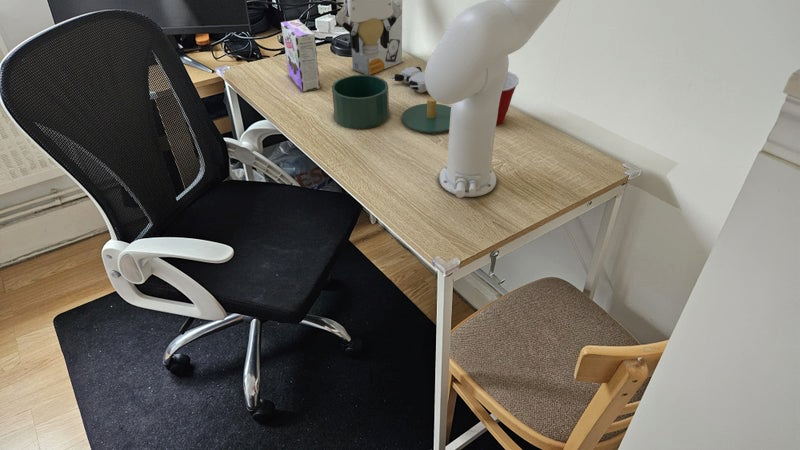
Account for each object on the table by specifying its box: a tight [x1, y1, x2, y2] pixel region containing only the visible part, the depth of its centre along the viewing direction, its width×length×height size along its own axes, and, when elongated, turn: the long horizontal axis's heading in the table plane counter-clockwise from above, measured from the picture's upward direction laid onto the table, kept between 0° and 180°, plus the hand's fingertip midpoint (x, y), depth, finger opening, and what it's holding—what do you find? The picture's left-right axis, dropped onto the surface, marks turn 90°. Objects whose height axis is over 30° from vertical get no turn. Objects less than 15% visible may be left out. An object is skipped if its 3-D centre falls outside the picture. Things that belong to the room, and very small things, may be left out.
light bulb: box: [357, 19, 384, 59], centre depth 117 cm, size 6×6×10 cm
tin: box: [331, 74, 390, 130], centre depth 137 cm, size 15×15×8 cm
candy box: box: [280, 18, 321, 92], centre depth 152 cm, size 14×6×16 cm, turn 27°
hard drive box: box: [351, 0, 403, 76], centre depth 160 cm, size 16×8×20 cm, turn 136°
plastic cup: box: [496, 71, 520, 127], centre depth 133 cm, size 11×11×12 cm
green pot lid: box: [401, 96, 451, 134], centre depth 136 cm, size 16×16×6 cm
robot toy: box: [389, 66, 428, 94], centre depth 153 cm, size 12×4×15 cm
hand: (370, 48), depth 119 cm, fingers closed on light bulb, 6 cm apart
